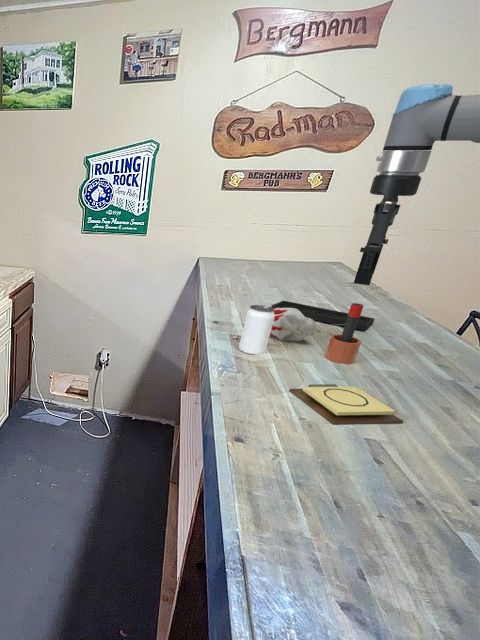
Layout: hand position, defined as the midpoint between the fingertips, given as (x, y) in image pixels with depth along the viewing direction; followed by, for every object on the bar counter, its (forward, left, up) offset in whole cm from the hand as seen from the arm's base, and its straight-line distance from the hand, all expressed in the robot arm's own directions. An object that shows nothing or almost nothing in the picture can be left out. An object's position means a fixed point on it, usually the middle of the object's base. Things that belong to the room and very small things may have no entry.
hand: (363, 278), depth 101 cm
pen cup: (+8, -7, -23) cm, 26 cm away
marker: (+8, -7, -23) cm, 25 cm away
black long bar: (+40, -23, -24) cm, 51 cm away
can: (+15, +12, -24) cm, 30 cm away
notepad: (-16, +9, -22) cm, 29 cm away
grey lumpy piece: (+25, -1, -24) cm, 34 cm away
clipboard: (-15, +9, -23) cm, 29 cm away
